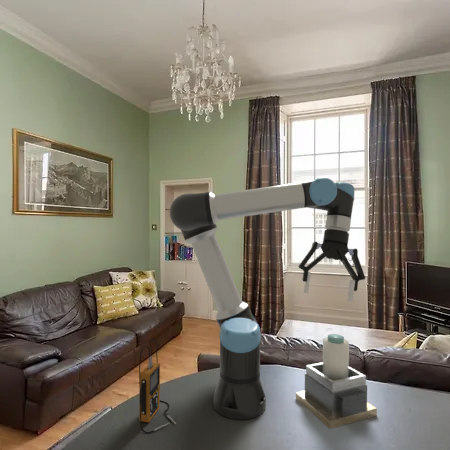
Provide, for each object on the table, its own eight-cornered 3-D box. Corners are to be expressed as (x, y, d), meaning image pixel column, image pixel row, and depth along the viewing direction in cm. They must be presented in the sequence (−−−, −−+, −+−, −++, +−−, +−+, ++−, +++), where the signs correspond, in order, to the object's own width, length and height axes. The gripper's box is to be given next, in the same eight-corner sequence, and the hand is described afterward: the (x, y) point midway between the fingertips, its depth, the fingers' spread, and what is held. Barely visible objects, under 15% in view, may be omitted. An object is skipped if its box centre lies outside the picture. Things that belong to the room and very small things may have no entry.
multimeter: (169, 437, 78) (170, 355, 78) (132, 431, 80) (132, 352, 80) (188, 404, 93) (189, 335, 93) (156, 400, 95) (156, 332, 95)
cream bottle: (317, 375, 94) (317, 334, 94) (336, 371, 97) (336, 331, 97) (334, 387, 88) (334, 342, 88) (353, 382, 90) (354, 339, 90)
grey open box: (295, 399, 96) (296, 364, 96) (338, 389, 102) (338, 356, 102) (329, 428, 82) (330, 387, 82) (376, 415, 88) (377, 377, 88)
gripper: (372, 238, 106) (364, 303, 103) (296, 225, 108) (286, 288, 105) (381, 236, 98) (373, 305, 96) (299, 222, 101) (289, 289, 98)
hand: (327, 297), depth 100 cm, fingers open, 13 cm apart
